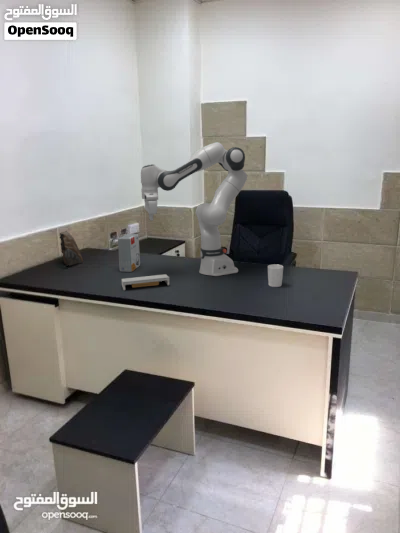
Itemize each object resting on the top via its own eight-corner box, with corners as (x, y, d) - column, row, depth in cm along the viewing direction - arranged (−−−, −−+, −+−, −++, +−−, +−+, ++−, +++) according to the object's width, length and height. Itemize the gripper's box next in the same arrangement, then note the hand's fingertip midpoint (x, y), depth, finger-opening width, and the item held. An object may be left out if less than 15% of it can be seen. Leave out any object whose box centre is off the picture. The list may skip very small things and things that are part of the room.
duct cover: (166, 275, 227) (166, 273, 226) (169, 279, 218) (169, 277, 218) (121, 280, 221) (121, 277, 220) (123, 284, 212) (122, 282, 212)
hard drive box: (131, 272, 245) (129, 239, 240) (119, 271, 247) (116, 238, 241) (140, 265, 260) (138, 233, 254) (129, 264, 261) (126, 233, 256)
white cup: (273, 288, 211) (273, 269, 209) (264, 284, 218) (264, 265, 215) (285, 285, 215) (286, 267, 212) (276, 281, 222) (276, 263, 219)
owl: (67, 266, 262) (63, 234, 256) (55, 263, 270) (52, 232, 264) (84, 261, 271) (81, 231, 266) (72, 259, 279) (69, 229, 274)
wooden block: (157, 283, 224) (157, 279, 224) (158, 285, 222) (158, 281, 221) (131, 286, 221) (131, 282, 221) (132, 288, 218) (131, 283, 218)
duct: (166, 280, 228) (166, 275, 227) (169, 285, 220) (169, 279, 219) (121, 285, 222) (121, 280, 221) (123, 290, 214) (123, 284, 213)
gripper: (141, 193, 238) (143, 217, 242) (146, 197, 219) (148, 223, 223) (152, 193, 240) (153, 217, 243) (158, 196, 221) (160, 222, 224)
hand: (151, 220), depth 233 cm, fingers closed
